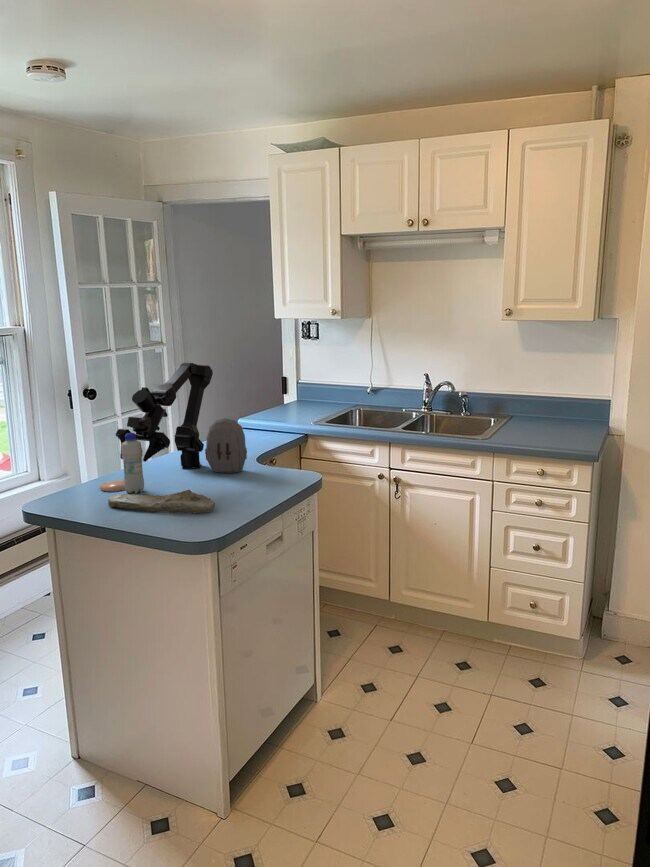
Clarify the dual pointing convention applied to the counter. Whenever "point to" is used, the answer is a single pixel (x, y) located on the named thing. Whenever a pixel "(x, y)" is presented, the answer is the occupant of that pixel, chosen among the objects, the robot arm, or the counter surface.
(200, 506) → the long grey stone
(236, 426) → the soft grey pack
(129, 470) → the bottle
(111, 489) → the peach round piece
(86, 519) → the counter surface
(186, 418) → the robot arm
